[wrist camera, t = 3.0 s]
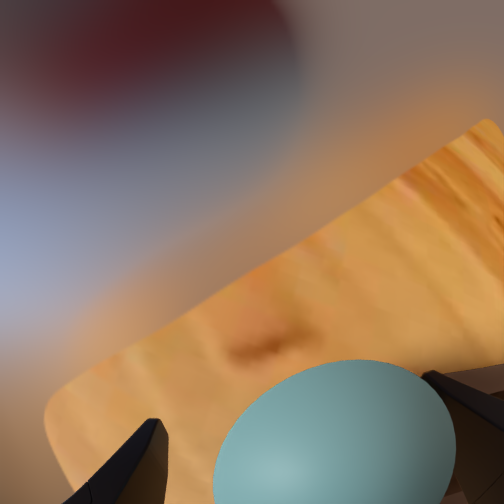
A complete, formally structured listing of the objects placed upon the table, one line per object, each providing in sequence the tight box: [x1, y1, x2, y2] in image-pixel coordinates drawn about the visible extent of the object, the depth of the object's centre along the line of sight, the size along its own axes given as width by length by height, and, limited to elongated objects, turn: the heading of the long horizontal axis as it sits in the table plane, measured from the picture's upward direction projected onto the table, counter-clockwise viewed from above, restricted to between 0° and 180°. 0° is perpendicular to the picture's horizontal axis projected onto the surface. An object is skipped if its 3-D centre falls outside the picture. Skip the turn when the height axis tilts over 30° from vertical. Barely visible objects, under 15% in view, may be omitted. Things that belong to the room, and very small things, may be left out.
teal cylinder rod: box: [213, 360, 456, 504], centre depth 9 cm, size 4×4×13 cm
